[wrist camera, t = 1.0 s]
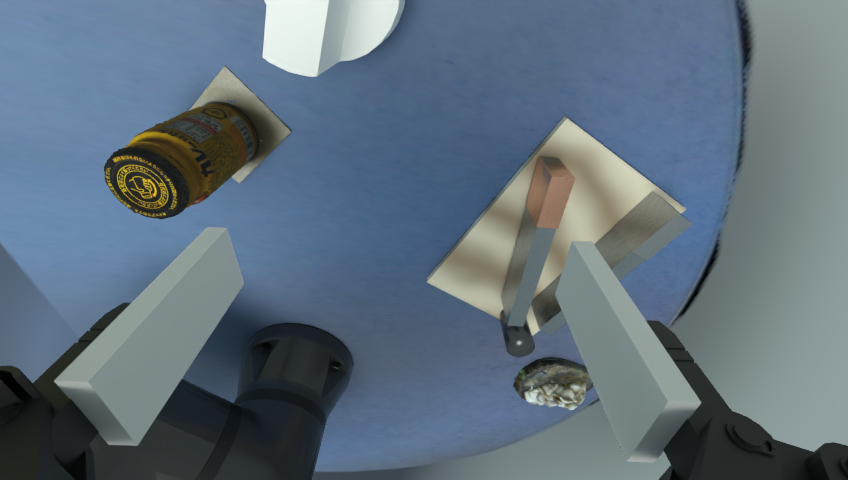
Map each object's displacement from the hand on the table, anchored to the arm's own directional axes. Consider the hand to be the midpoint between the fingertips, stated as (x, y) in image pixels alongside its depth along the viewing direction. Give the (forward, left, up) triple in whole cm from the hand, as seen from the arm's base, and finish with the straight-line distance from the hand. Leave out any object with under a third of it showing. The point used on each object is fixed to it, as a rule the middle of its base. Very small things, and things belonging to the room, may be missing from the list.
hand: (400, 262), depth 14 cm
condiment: (-8, +16, -23) cm, 29 cm away
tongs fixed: (-9, -22, -22) cm, 32 cm away
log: (-28, -33, -23) cm, 50 cm away
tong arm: (-7, -16, -21) cm, 27 cm away
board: (-8, -19, -22) cm, 30 cm away
